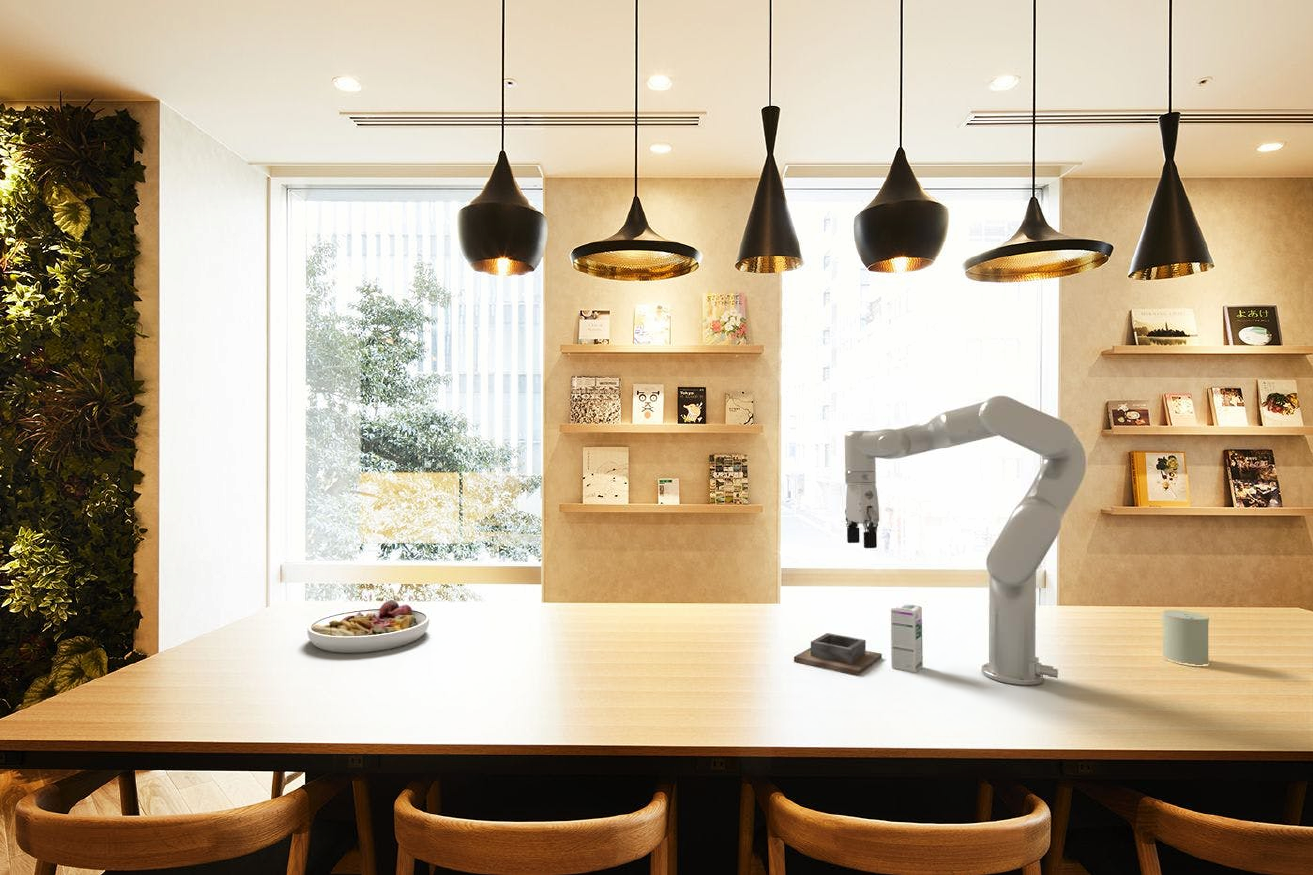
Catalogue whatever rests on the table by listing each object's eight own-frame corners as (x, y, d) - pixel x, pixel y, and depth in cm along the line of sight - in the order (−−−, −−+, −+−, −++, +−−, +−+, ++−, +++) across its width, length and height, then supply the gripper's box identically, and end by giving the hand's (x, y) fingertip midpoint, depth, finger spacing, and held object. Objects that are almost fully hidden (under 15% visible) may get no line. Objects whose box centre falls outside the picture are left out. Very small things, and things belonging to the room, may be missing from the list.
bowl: (403, 658, 165) (403, 626, 165) (282, 656, 166) (283, 624, 166) (444, 625, 195) (444, 598, 195) (342, 624, 196) (342, 597, 196)
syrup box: (915, 673, 156) (916, 610, 156) (890, 668, 160) (890, 607, 160) (922, 667, 161) (923, 606, 161) (897, 662, 164) (898, 602, 164)
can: (1166, 663, 165) (1166, 614, 165) (1158, 653, 173) (1158, 606, 173) (1213, 669, 161) (1213, 619, 161) (1203, 658, 169) (1203, 611, 169)
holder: (881, 658, 167) (881, 639, 167) (858, 675, 154) (858, 655, 154) (821, 646, 176) (821, 628, 176) (794, 661, 164) (794, 642, 164)
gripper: (890, 479, 165) (891, 549, 164) (859, 477, 182) (860, 540, 181) (861, 480, 163) (862, 550, 163) (833, 477, 181) (834, 541, 180)
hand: (861, 545), depth 172 cm, fingers open, 9 cm apart
